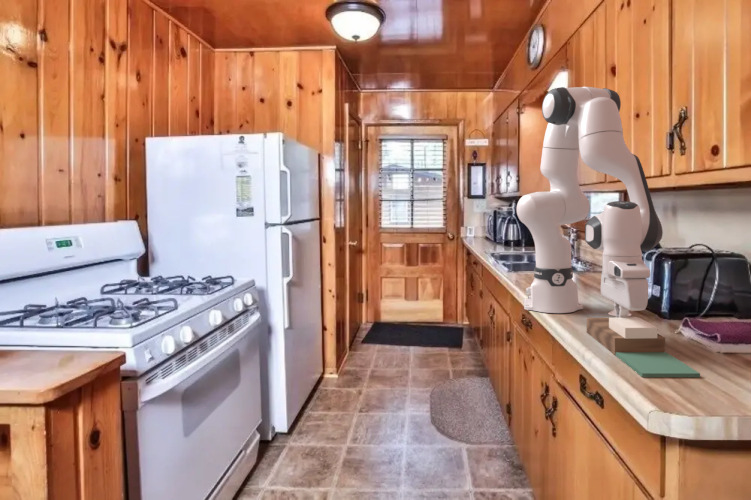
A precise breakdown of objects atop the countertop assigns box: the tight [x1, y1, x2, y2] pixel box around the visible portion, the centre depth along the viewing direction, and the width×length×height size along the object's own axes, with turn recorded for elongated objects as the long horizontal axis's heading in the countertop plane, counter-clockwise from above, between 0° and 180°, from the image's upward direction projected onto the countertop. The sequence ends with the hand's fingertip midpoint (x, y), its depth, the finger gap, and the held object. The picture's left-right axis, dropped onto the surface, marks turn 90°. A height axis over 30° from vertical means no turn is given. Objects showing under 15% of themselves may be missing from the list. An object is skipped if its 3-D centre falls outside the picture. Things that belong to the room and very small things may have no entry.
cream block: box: [608, 316, 658, 339], centre depth 116 cm, size 10×7×2 cm
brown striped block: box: [586, 317, 666, 356], centre depth 121 cm, size 20×11×4 cm, turn 174°
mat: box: [615, 351, 701, 378], centre depth 104 cm, size 14×11×1 cm
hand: (621, 320), depth 122 cm, fingers closed
